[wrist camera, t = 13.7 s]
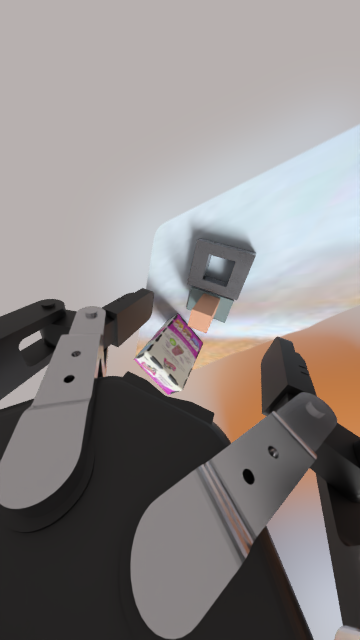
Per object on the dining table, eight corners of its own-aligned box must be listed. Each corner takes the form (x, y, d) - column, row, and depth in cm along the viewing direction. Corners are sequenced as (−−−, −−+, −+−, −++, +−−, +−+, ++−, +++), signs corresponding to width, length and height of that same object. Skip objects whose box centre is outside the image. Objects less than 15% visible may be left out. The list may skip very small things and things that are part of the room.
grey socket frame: (255, 252, 33) (255, 255, 30) (238, 295, 38) (237, 300, 35) (201, 238, 35) (197, 239, 33) (191, 280, 40) (187, 283, 37)
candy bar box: (166, 321, 48) (132, 358, 35) (178, 312, 46) (145, 350, 32) (191, 350, 50) (167, 396, 37) (204, 343, 47) (183, 391, 34)
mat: (233, 300, 38) (233, 301, 38) (224, 322, 42) (224, 322, 41) (192, 286, 41) (191, 287, 40) (187, 308, 44) (186, 309, 44)
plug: (220, 298, 39) (211, 316, 32) (215, 313, 41) (206, 333, 34) (203, 293, 40) (191, 309, 33) (199, 307, 42) (187, 326, 35)
